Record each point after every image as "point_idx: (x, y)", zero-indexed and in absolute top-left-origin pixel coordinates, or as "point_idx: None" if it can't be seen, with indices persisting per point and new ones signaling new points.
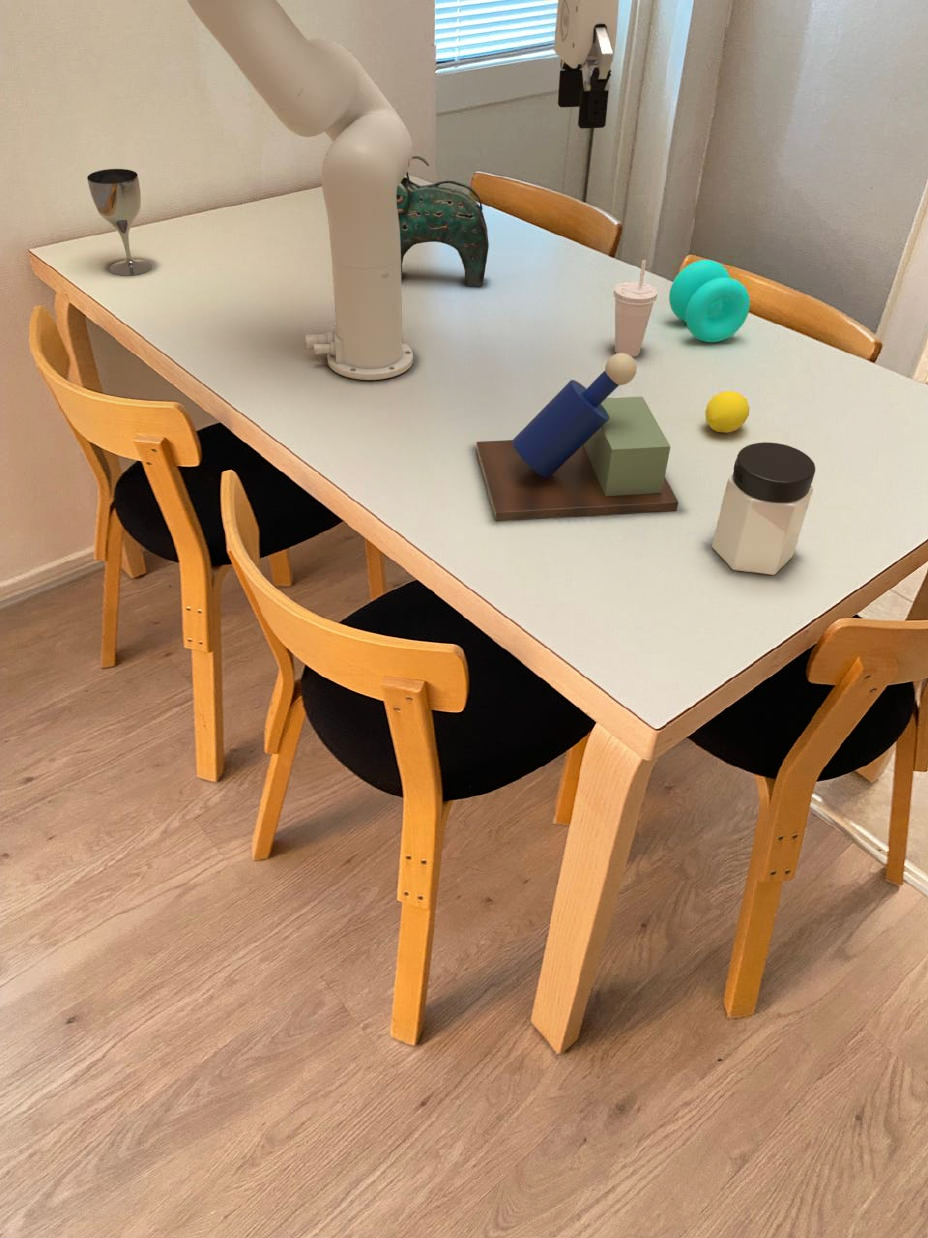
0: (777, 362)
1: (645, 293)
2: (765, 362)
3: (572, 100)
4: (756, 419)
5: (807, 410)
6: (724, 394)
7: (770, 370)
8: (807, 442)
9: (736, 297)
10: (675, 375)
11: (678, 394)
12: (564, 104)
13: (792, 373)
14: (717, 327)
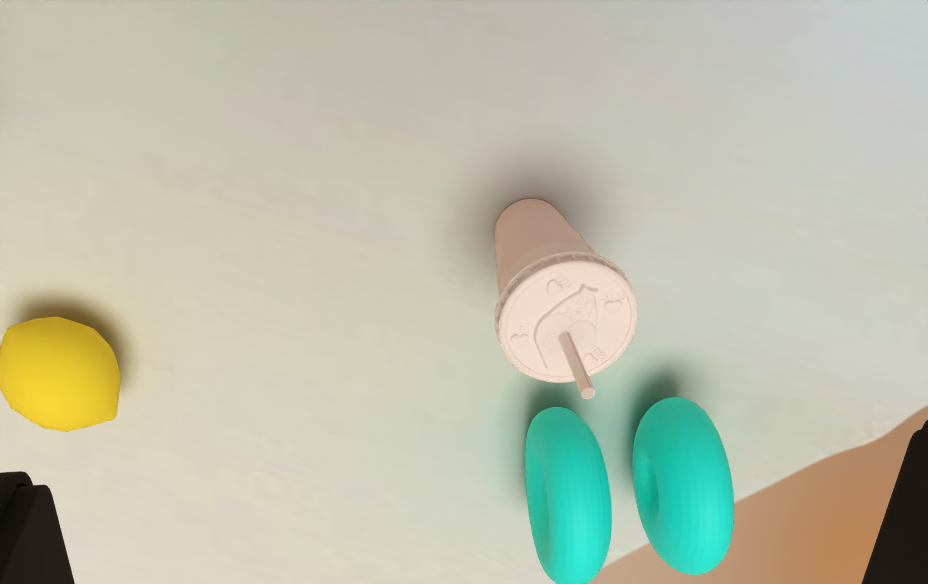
0: (412, 536)
1: (537, 345)
2: (416, 515)
3: (910, 566)
4: (132, 426)
5: (177, 530)
6: (45, 389)
7: (375, 514)
8: None
9: (545, 554)
10: (373, 314)
11: (267, 293)
12: (910, 471)
13: (355, 549)
14: (537, 469)
